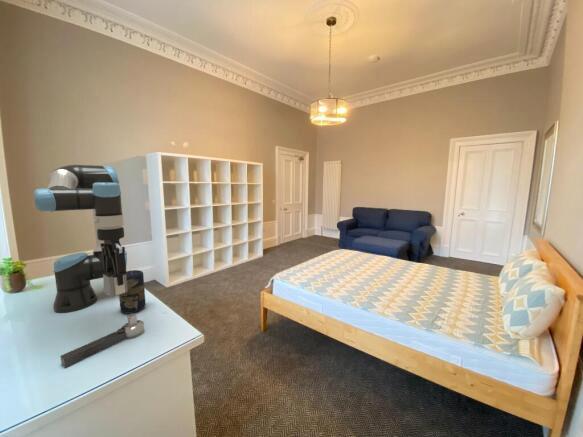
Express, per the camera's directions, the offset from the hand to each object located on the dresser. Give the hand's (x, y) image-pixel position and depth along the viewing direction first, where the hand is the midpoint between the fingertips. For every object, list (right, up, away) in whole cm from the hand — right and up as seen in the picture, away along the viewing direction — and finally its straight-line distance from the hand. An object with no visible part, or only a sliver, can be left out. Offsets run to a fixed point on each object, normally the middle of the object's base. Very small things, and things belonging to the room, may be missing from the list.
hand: (116, 291), depth 88 cm
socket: (0, 0, 0) cm, 0 cm away
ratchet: (-1, -18, -3) cm, 18 cm away
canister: (-8, -15, +22) cm, 27 cm away
